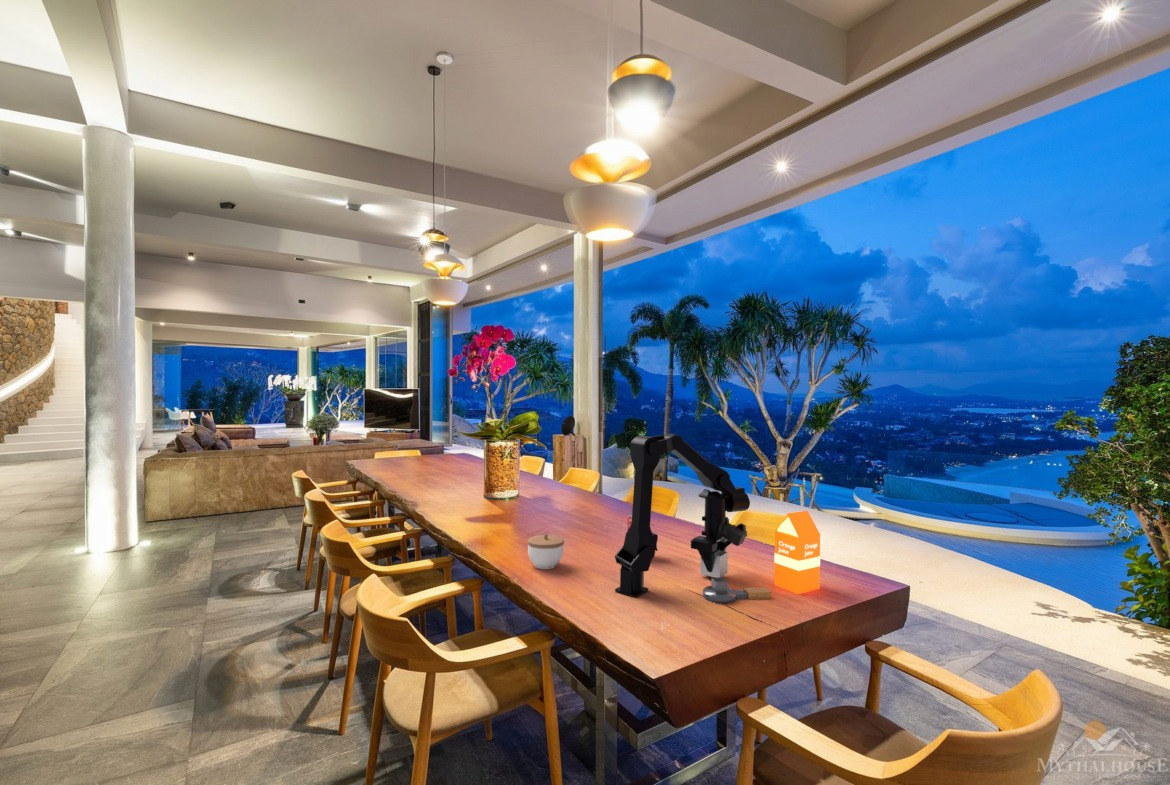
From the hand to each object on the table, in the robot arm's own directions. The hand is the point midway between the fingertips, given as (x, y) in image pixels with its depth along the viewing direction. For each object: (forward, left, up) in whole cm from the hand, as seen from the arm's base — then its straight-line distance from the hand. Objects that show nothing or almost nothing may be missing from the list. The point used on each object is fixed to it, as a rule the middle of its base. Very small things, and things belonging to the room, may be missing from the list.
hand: (714, 569), depth 140 cm
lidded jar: (-24, +42, -2) cm, 48 cm away
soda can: (+2, +26, -2) cm, 26 cm away
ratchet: (-10, -10, -2) cm, 14 cm away
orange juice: (+8, -20, -2) cm, 22 cm away
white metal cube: (0, 0, -1) cm, 1 cm away
